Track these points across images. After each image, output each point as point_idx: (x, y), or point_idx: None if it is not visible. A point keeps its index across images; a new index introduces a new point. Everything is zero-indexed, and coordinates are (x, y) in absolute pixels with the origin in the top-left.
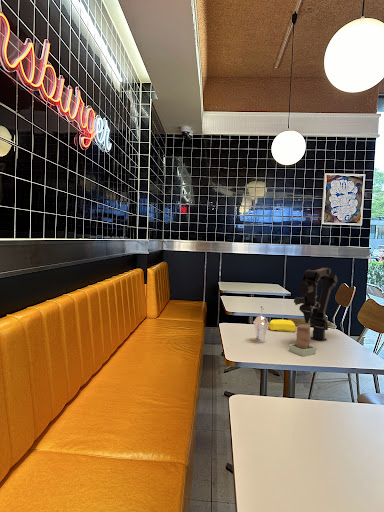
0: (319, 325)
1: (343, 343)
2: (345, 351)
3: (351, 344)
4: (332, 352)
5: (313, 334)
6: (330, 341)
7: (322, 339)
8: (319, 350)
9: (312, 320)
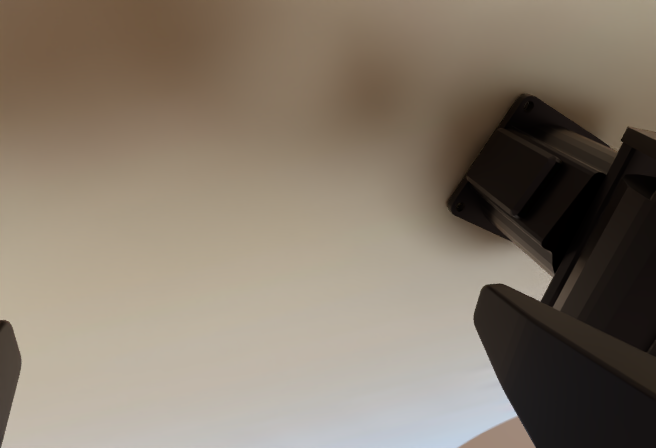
0: (555, 307)
1: (479, 365)
2: (241, 437)
3: (480, 404)
4: (111, 393)
5: (514, 153)
6: (488, 282)
7: (487, 227)
8: (63, 302)
9: (481, 324)
